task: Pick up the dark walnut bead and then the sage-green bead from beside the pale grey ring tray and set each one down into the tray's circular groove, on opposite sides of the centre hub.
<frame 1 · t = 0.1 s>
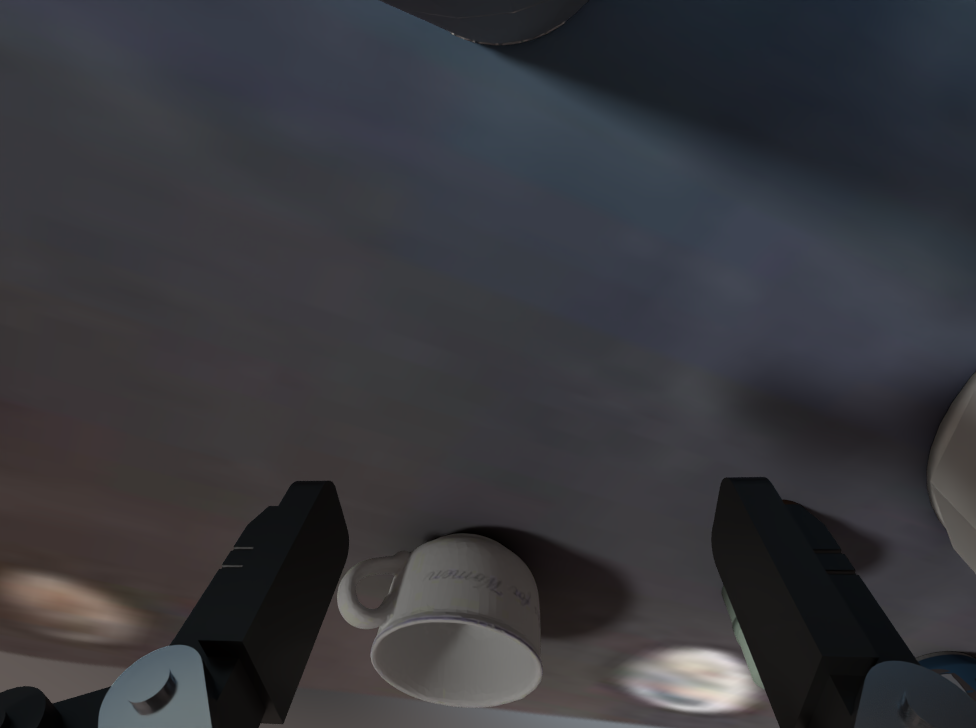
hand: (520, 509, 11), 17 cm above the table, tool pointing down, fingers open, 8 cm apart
soda can: (935, 668, 41), on the table
teacup: (452, 549, 38), on the table
sage bead: (752, 589, 37), on the table
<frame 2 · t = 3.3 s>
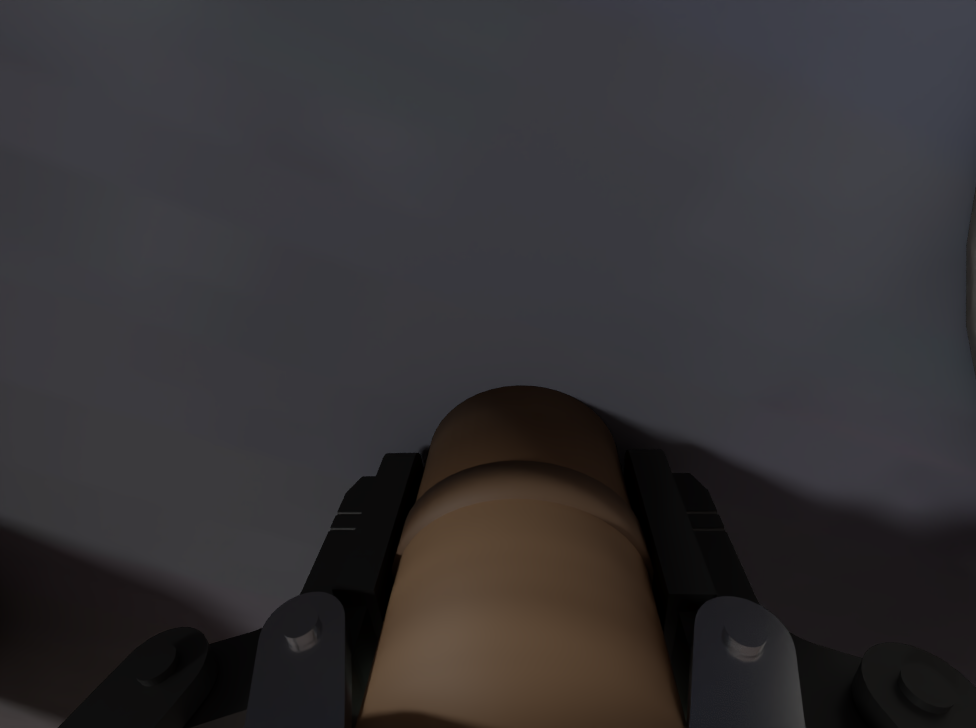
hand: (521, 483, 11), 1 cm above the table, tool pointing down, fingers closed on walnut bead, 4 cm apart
walnut bead: (522, 466, 12), on the table, touching gripper
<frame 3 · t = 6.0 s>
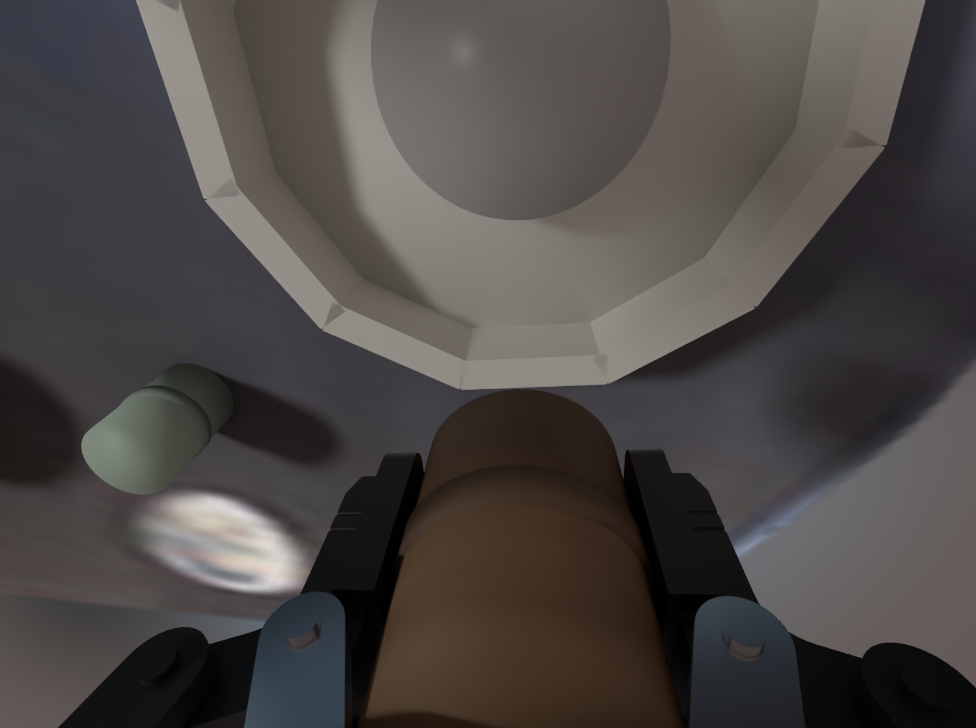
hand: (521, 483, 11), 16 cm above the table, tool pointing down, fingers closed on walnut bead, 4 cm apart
ring tray: (519, 73, 21), on the table
walnut bead: (522, 469, 12), point 15 cm above the table, touching gripper
sage bead: (196, 395, 30), on the table
when the fingers open (3 cm above the table, at t = 8.6 s): walnut bead drops 2 cm, resting on ring tray.
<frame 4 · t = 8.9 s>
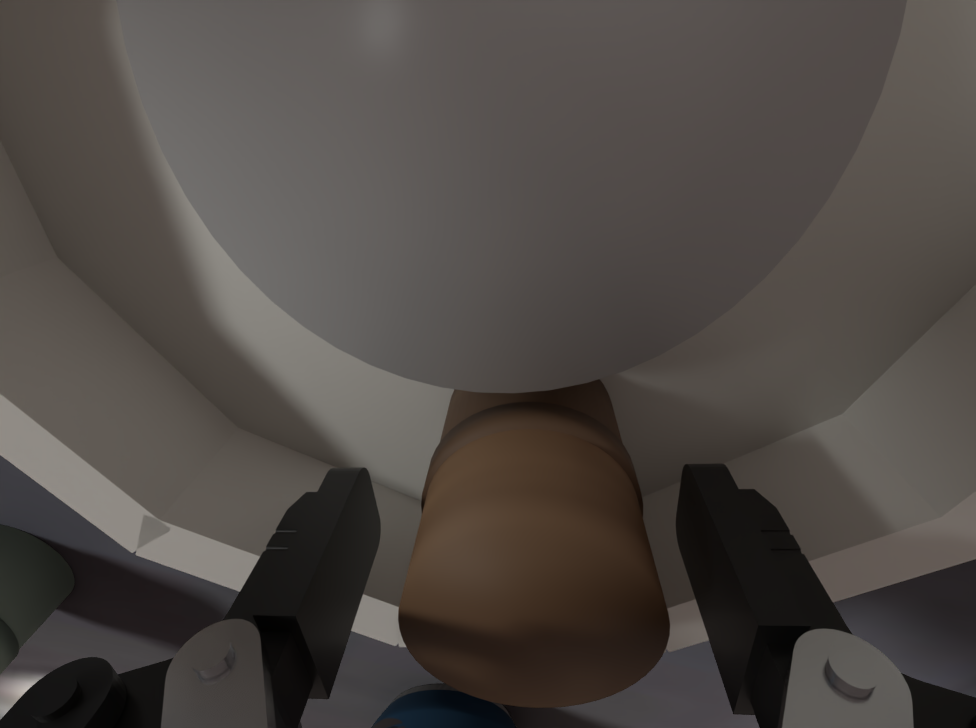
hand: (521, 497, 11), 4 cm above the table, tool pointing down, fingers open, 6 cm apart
soda can: (451, 714, 23), on the table
ring tray: (506, 77, 11), on the table
walnut bead: (529, 421, 14), point 1 cm above the table, touching ring tray
sage bead: (16, 564, 20), on the table
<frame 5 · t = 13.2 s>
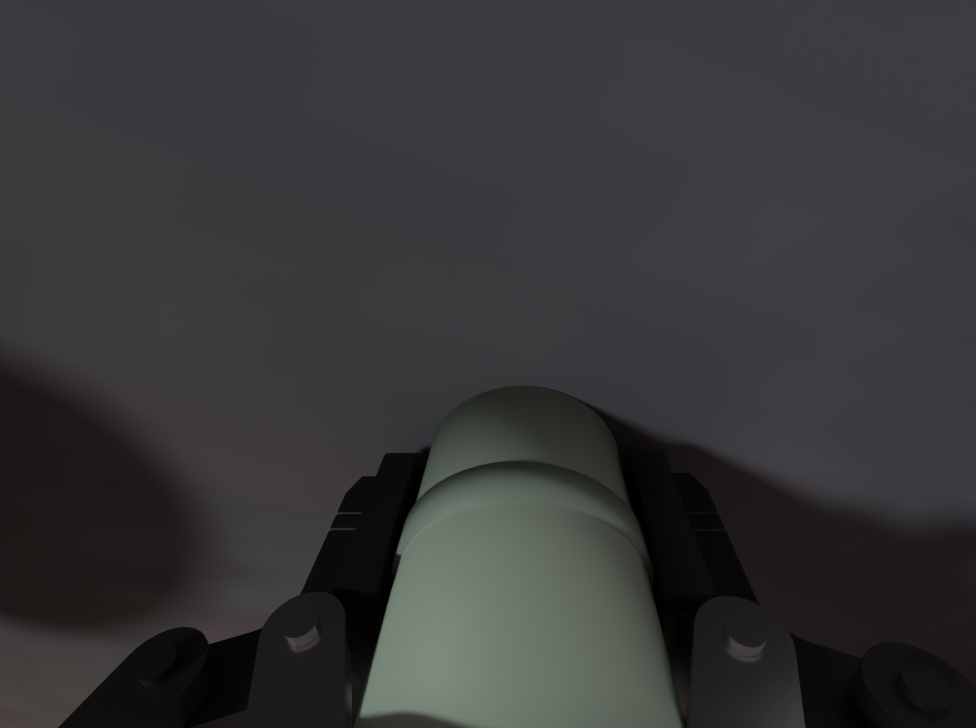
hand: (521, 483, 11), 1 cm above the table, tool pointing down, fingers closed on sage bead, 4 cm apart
sage bead: (523, 466, 12), on the table, touching gripper
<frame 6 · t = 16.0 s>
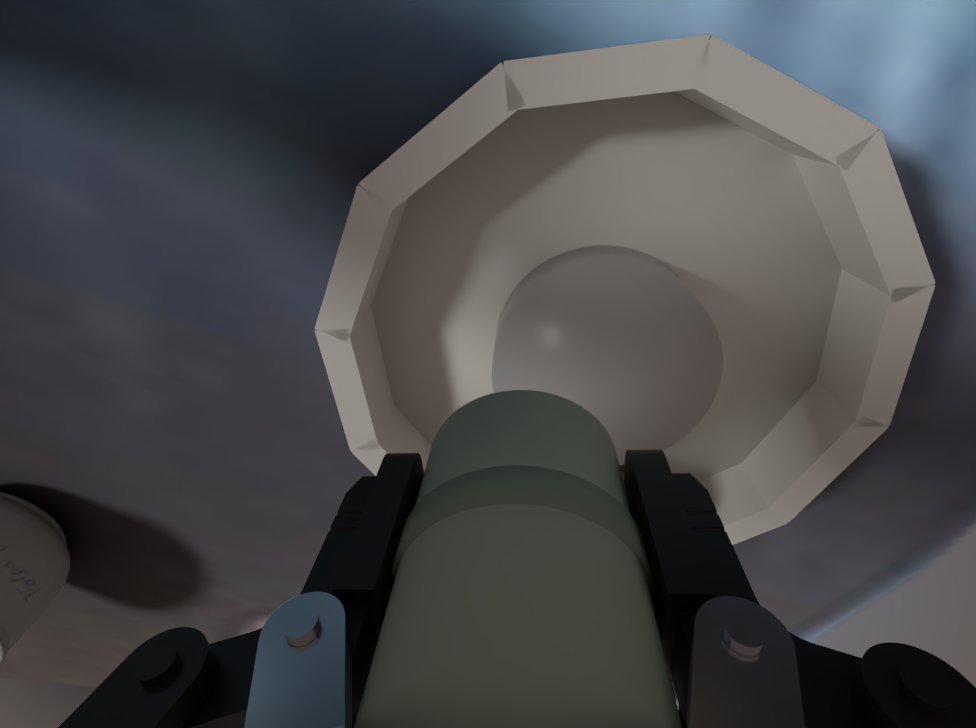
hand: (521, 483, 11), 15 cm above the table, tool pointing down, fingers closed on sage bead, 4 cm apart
ring tray: (592, 335, 26), on the table
teacup: (1, 512, 36), on the table
sage bead: (522, 469, 12), point 15 cm above the table, touching gripper
when the fingers open (4 cm above the table, at t = 19.1 s): sage bead drops 2 cm, resting on ring tray.
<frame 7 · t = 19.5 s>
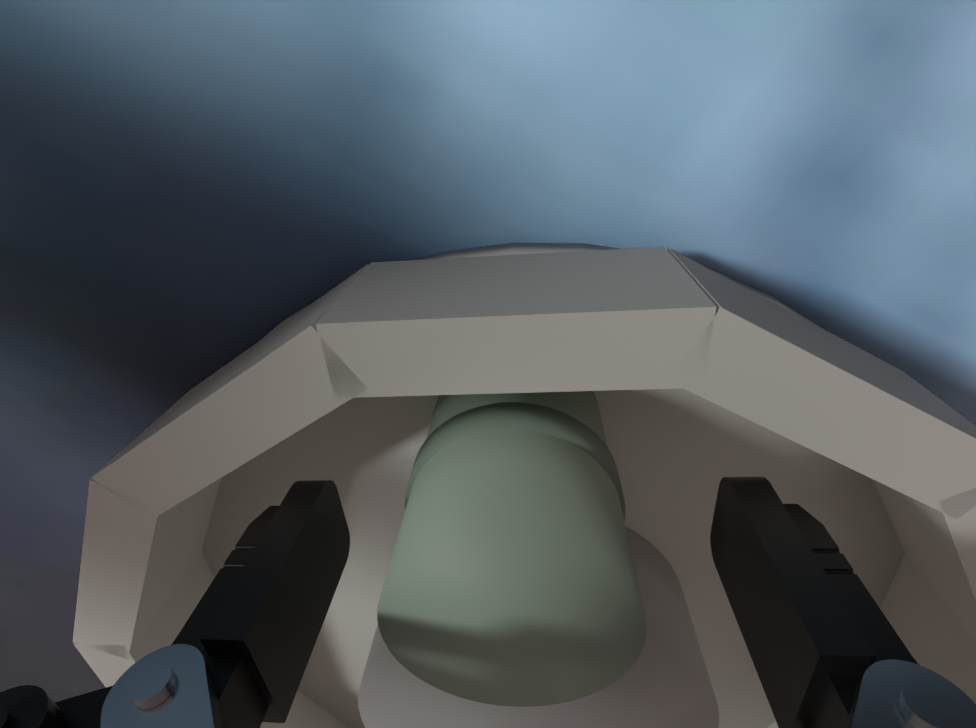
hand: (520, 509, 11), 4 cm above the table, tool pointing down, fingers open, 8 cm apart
ring tray: (532, 587, 18), on the table
sage bead: (516, 421, 14), point 1 cm above the table, touching ring tray
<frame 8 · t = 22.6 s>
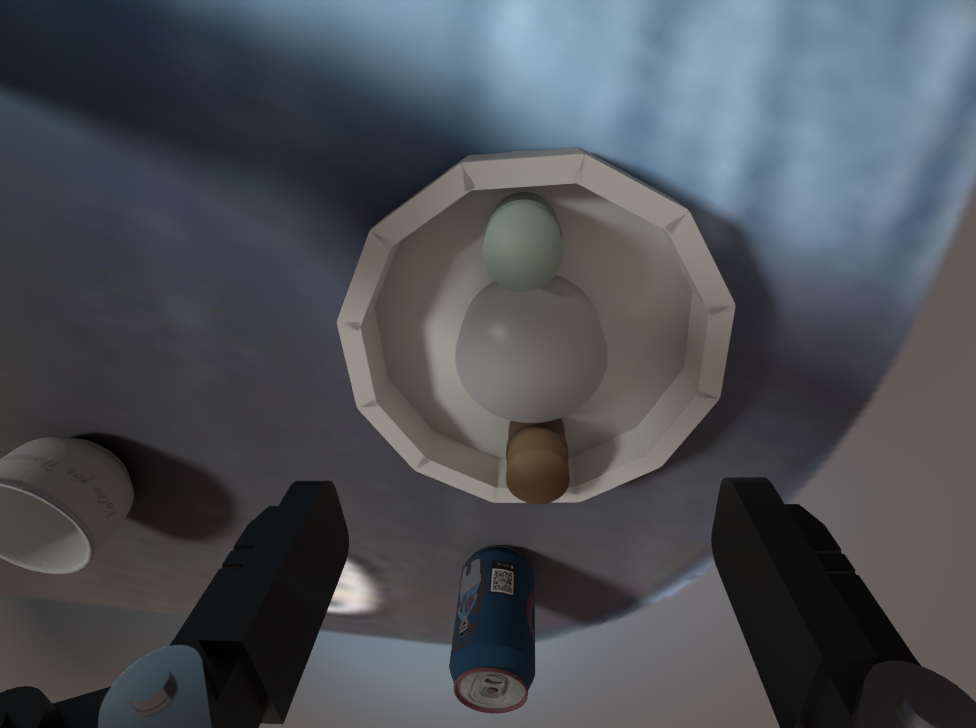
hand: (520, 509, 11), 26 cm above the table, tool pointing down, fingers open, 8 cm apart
soda can: (498, 563, 50), on the table
ring tray: (530, 332, 37), on the table
walnut bead: (536, 429, 40), point 1 cm above the table, touching ring tray
teacup: (80, 456, 47), on the table
sage bead: (523, 227, 33), point 1 cm above the table, touching ring tray
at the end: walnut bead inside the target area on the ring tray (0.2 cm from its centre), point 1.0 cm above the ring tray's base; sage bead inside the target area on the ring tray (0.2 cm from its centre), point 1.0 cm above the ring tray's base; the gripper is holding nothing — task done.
